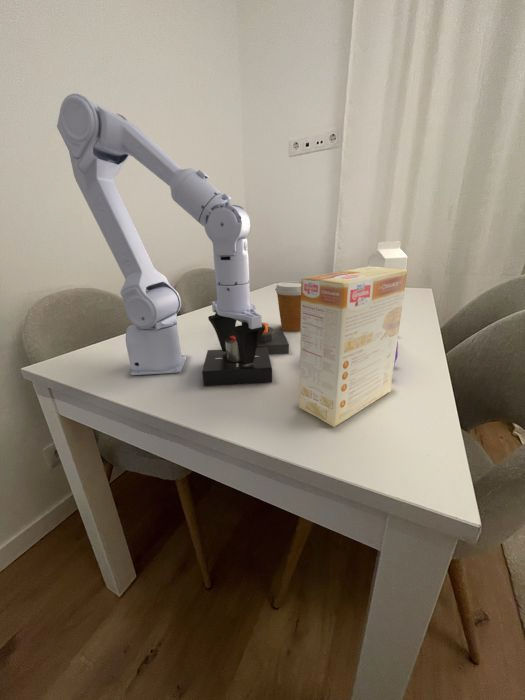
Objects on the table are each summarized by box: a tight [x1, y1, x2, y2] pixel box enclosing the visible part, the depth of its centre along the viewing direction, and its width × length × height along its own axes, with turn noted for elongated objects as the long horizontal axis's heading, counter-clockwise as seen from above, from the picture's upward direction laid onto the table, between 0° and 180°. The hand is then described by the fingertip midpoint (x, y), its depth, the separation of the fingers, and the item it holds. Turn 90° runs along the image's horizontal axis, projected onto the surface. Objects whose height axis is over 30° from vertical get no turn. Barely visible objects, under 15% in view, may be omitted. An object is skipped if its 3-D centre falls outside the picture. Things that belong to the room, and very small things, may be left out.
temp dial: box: [225, 336, 241, 362], centre depth 56 cm, size 4×4×4 cm
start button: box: [262, 322, 269, 333], centre depth 68 cm, size 4×4×2 cm
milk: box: [367, 240, 409, 270], centre depth 72 cm, size 6×6×22 cm
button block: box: [234, 326, 290, 356], centre depth 69 cm, size 12×10×4 cm
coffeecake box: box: [298, 266, 408, 428], centre depth 44 cm, size 15×7×20 cm, turn 129°
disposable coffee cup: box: [275, 280, 301, 333], centre depth 81 cm, size 10×10×12 cm
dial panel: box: [201, 347, 273, 388], centre depth 57 cm, size 12×10×3 cm
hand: (237, 356), depth 56 cm, fingers open, 7 cm apart
